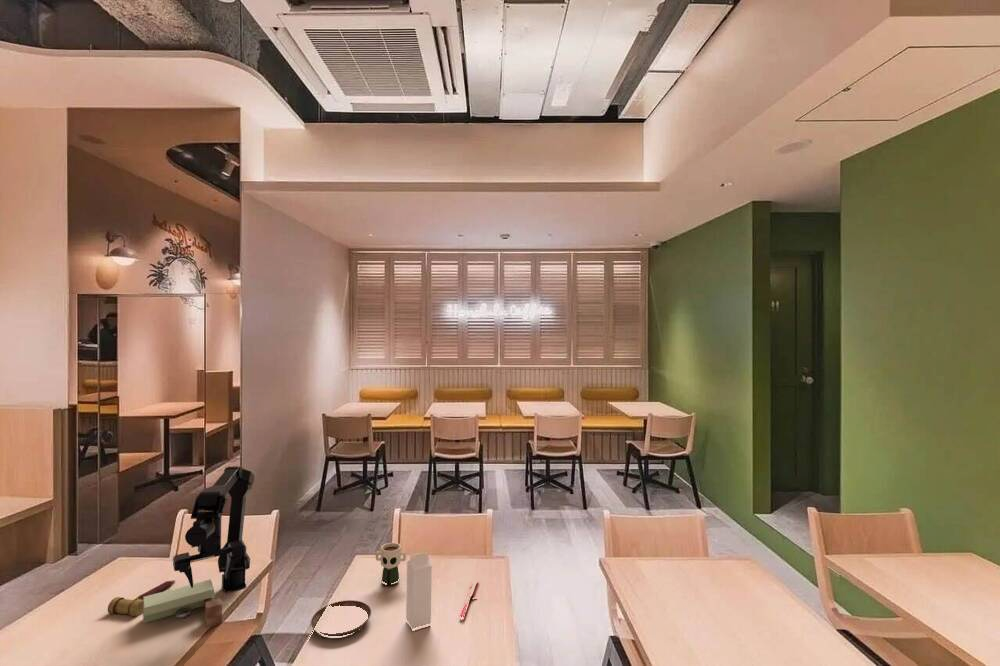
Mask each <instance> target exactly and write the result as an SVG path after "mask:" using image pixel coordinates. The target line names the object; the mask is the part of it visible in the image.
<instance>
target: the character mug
mask: <svg viewBox="0 0 1000 666" xmlns="http://www.w3.org/2000/svg"><path fill="white" fill-rule="evenodd" d="M379 555H380V557H379ZM401 556H402V557H401ZM406 560H407V552H406V551H402V546H401V544H400V543H398V542H387V543H385V544H383V545H381V547H380V551H376V552H375V561H380V565H381V566H382V567H383V569H382V575H381V582H382V581H383V582H385V583H387V584H390V583H394V582H396V581H398V579H399V580H400V573H399V565H400V564H401V562H405V561H406Z"/></svg>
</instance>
